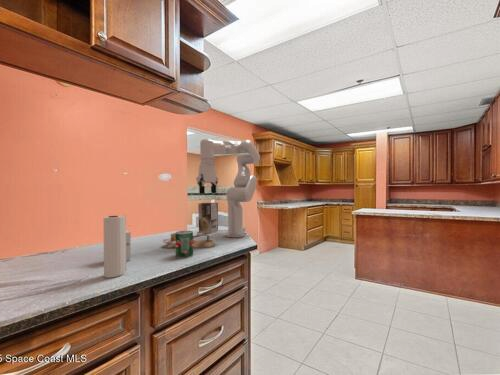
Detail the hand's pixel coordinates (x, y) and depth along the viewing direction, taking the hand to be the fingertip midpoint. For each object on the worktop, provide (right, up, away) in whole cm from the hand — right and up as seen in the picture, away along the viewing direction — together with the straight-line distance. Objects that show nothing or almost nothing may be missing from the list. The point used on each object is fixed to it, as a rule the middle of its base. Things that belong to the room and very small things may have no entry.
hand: (208, 193), depth 135 cm
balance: (-9, -29, -1) cm, 30 cm away
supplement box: (-34, -29, -28) cm, 53 cm away
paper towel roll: (-26, -29, -46) cm, 60 cm away
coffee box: (0, -22, 0) cm, 22 cm away
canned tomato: (-7, -29, -22) cm, 37 cm away
